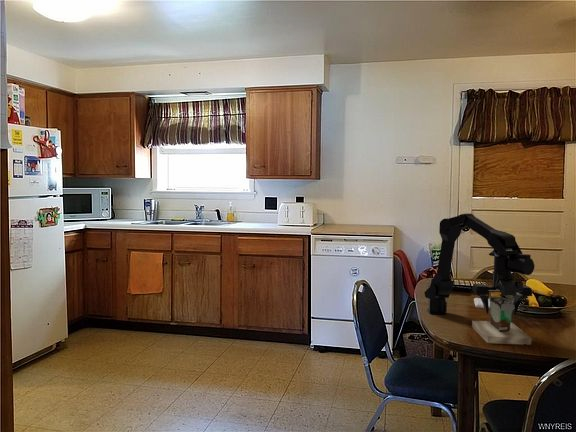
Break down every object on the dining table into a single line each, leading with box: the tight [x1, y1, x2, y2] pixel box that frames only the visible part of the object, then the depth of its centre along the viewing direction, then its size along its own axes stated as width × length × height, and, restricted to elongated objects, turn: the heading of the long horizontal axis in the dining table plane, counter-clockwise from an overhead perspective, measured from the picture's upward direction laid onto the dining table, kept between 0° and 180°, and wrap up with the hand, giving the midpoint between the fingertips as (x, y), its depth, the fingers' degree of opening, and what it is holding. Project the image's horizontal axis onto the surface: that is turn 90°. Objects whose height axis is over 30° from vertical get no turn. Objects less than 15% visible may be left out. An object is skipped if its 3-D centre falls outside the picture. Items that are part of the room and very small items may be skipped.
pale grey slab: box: [471, 320, 532, 346], centre depth 167 cm, size 14×18×3 cm
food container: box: [489, 296, 515, 332], centre depth 167 cm, size 12×6×10 cm, turn 175°
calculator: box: [473, 297, 490, 309], centre depth 208 cm, size 13×20×2 cm, turn 72°
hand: (500, 313), depth 167 cm, fingers open, 9 cm apart
